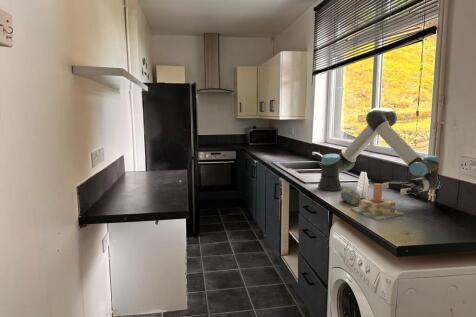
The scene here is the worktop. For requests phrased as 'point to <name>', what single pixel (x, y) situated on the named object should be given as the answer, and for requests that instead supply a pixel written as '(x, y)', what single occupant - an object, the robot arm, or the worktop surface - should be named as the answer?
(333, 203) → the worktop surface
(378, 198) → the peg
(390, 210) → the socket
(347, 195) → the green striped ellipsoid
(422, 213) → the worktop surface
